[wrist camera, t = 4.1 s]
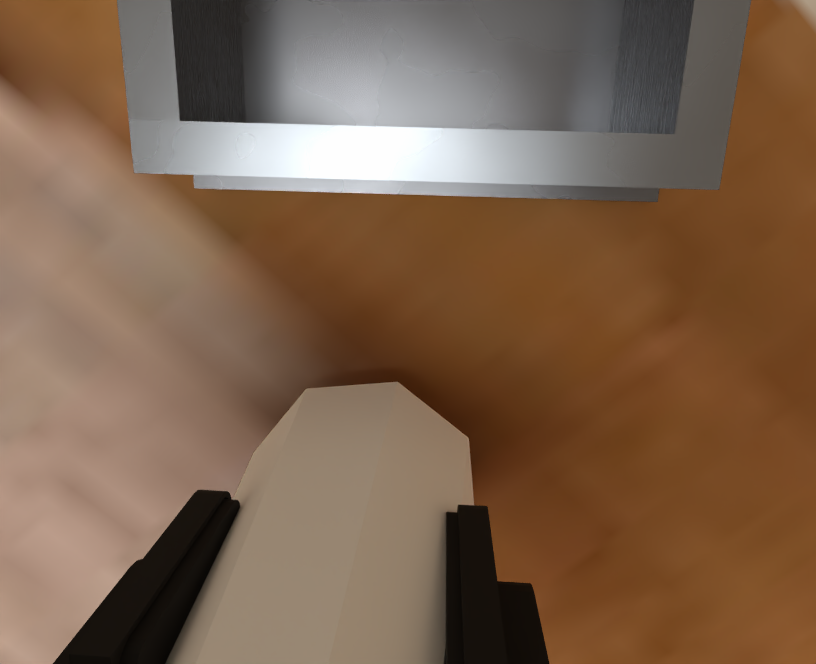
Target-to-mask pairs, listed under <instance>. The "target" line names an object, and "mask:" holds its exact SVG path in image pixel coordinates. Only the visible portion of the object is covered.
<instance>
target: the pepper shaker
mask: <svg viewBox="0 0 816 664" xmlns="http://www.w3.org/2000/svg"><path fill="white" fill-rule="evenodd" d="M233 500H238V501H239V503H240V509H239V511H238V513H237V515H236V517H235V519H234V521H233V523H232V525H231V528H230V530H229V532H228V534H227V536H226V538H225V540H224V542H223V544H222V546H221V548H220V551H219V553H218V555H217V557H216V559H215V561H214V563H213V565H212V567H211V569H210V571H209V573H208V576H207V578H206V580H205V582H204V584H203V586H202V588H201V590H200V592H199V594H198V596H197V598H196V601H195V603H194V605H193V607H192V609H191V611H190V613H189V615H188V617H187V619H186V621H185V624H184V626H183V628H182V630H181V632H180V634H179V636H178V638H177V640H176V642H175V644H174V646H173V649H172V651H171V653H170V655H169V657H168V659H167V661H166V663H165V664H445V649H446V512H457V508H458V504H459V505H474V497H473V484H472V472H471V460H470V447H469V438H468V437H467V436H466V435H464V434H463V433H462V432H461V431H459V430H458V429H457V428H456V427H454V426H453V425H452V424H450V423H449V422H448V421H447V420H445V419H444V418H443V417H442V416H440V415H439V414H438V413H437V412H435V411H434V410H433V409H432V408H430V407H429V406H428V405H426V404H425V403H424V402H423V401H421V400H420V399H419V398H418V397H416V396H415V395H414V394H413V393H411V392H410V391H409V390H408V389H406V388H405V387H404V386H402V385H401V384H400V383H399V382H387V383H374V384H360V385H347V386H334V387H320V388H307V389H305V391H304V392H303V393H302V394H301V396H300V397H299V398H298V399H297V400H296V402H295V403H294V404H293V405H292V406H291V408H290V409H289V410H288V411H287V413H286V414H285V415H284V416H283V417H282V419H281V420H280V421H279V422H278V423H277V425H276V426H275V427H274V428H273V429H272V431H271V432H270V433H269V434H268V436H267V437H266V438H265V439H264V440H263V442H262V443H261V444H260V445H259V446H258V448H257V449H256V450H255V451H254V453H253V455H252V457H251V459H250V462H249V464H248V466H247V468H246V471H245V473H244V475H243V477H242V480H241V482H240V484H239V486H238V489H237V491H236V493H235V496H234V498H233Z"/></svg>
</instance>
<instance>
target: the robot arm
mask: <svg viewBox="0 0 816 664" xmlns="http://www.w3.org/2000/svg"><path fill="white" fill-rule="evenodd" d="M239 509H240V503H239V501H238V500H231V495H230V493H229V492H228V491H211V490H197V491H196V492H195V493H194V494H193V496H192V497H191V498H190V499H189V501H188V502H187V503H186V505H185V506H184V507H183V508H182V510H181V511H180V512H179V514H178V515H177V516H176V517H175V519H174V520H173V521H172V522H171V524H170V525H169V526H168V528H167V529H166V530H165V531H164V533H163V534H162V535H161V536H160V538H159V539H158V540H157V542H156V543H155V544H154V545H153V547H152V548H151V549H150V551H149V552H148V553H147V554H146V556H145V557H144V558H143V559H141V560H138V561H136V562H135V563H134V564H133V565H132V566H131V567H130V568H129V569H128V570H127V572H126V573H125V574H124V575H123V577H122V578H121V579H120V580H119V582H118V583H117V584H116V585H115V587H114V588H113V589H112V590H111V592H110V593H109V594H108V595H107V597H106V598H105V599H104V600H103V602H102V603H101V604H100V605H99V607H98V608H97V609H96V610H95V612H94V613H93V614H92V615H91V617H90V618H89V619H88V620H87V622H86V623H85V624H84V625H83V627H82V628H81V629H80V630H79V632H78V633H77V634H76V635H75V637H74V638H73V639H72V640H71V642H70V643H69V644H68V645H67V647H66V648H65V649H64V650H63V652H62V653H61V654H60V655H59V657H58V658H57V659H56V660H55V662H54V663H53V664H165V663H166V661H167V659H168V657H169V655H170V653H171V651H172V649H173V646H174V644H175V642H176V640H177V638H178V636H179V634H180V632H181V630H182V628H183V626H184V624H185V621H186V619H187V617H188V615H189V613H190V611H191V609H192V607H193V605H194V603H195V601H196V598H197V596H198V594H199V592H200V590H201V588H202V586H203V584H204V582H205V580H206V578H207V576H208V573H209V571H210V569H211V567H212V565H213V563H214V561H215V559H216V557H217V555H218V553H219V551H220V548H221V546H222V544H223V542H224V540H225V538H226V536H227V534H228V532H229V530H230V528H231V525H232V523H233V521H234V519H235V517H236V515H237V513H238V511H239ZM445 664H549V660H548V655H547V651H546V646H545V641H544V636H543V632H542V627H541V622H540V618H539V613H538V608H537V604H536V599H535V594H534V590H533V587H532V585H531V584H530V583H515V582H499V581H497V576H496V568H495V560H494V553H493V545H492V537H491V529H490V522H489V514H488V507H487V506H476V505H459V504H458V508H457V512H446V649H445Z"/></svg>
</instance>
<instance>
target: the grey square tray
mask: <svg viewBox="0 0 816 664" xmlns="http://www.w3.org/2000/svg"><path fill="white" fill-rule="evenodd" d="M750 4H751V0H117V5H118V16H119V26H120V36H121V46H122V56H123V66H124V76H125V86H126V97H127V107H128V117H129V127H130V137H131V147H132V157H133V167H134V173H151V174H186V175H193V176H194V188H202V189H236V190H270V191H304V192H338V193H373V194H407V195H441V196H475V197H509V198H543V199H577V200H611V201H645V202H658V194H659V188H672V189H707V190H719V187H720V181H721V176H722V170H723V164H724V158H725V152H726V146H727V140H728V134H729V128H730V122H731V116H732V110H733V104H734V99H735V93H736V87H737V81H738V75H739V69H740V63H741V57H742V51H743V45H744V39H745V33H746V27H747V22H748V16H749V10H750Z"/></svg>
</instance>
